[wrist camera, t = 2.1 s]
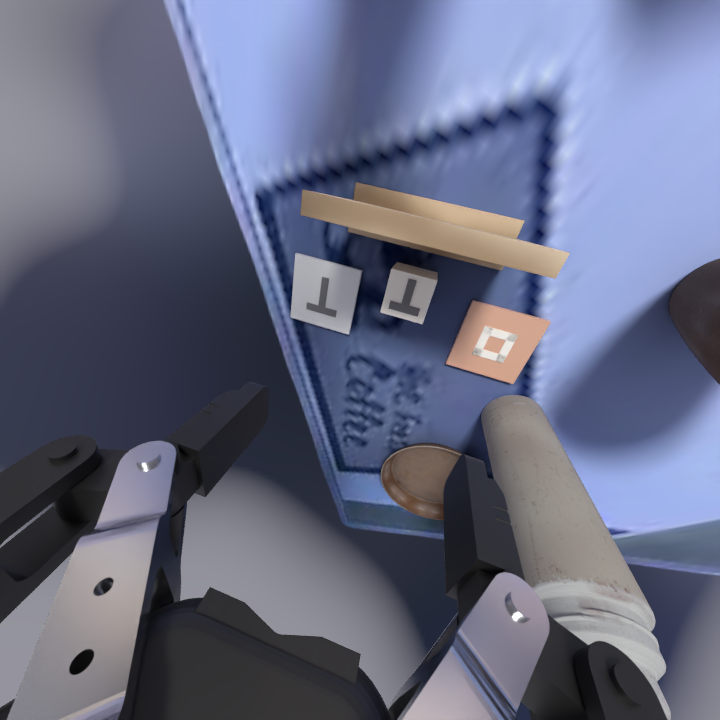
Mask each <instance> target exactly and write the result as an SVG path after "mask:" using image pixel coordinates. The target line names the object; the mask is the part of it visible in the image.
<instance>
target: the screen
mask: <svg viewBox="0 0 720 720" xmlns="http://www.w3.org/2000/svg"><path fill="white" fill-rule="evenodd" d="M300 215H303V216H307V217H311V218H315V219H319V220H323V221H327V222H331V223H335V224H339V225H343V226H347V227H349V228H348V232H351V233H355V234H358V235H362V236H366V237H370V238H374V239H378V240H382V241H386V242H390V243H394V244H398V245H402V246H406V247H410V248H414V249H418V250H422V251H426V252H430V253H434V254H438V255H442V256H446V257H450V258H454V259H457V260H461V261H465V262H469V263H473V264H477V265H481V266H485V267H489V268H493V269H497V270H501V271H502V269H503V267H504V266H507V267H511V268H515V269H519V270H523V271H527V272H531V273H535V274H539V275H543V276H547V277H551V278H556V277H557V275H558V273H559V271H560V270H561V268H562V266H563V264H564V263H565V261H566V259H567V257H568V256H569V254H570V253H568V252H564V251H560V250H557V249H553V248H549V247H545V246H542V245H538V244H534V243H530V242H527V241H523V240H519V239H516V238H517V236H518V234H519V232H520V230H521V228H522V225H523V223H524V220H519V219H515V218H510V217H506V216H502V215H497V214H493V213H489V212H484V211H480V210H475V209H471V208H467V207H462V206H458V205H454V204H449V203H445V202H440V201H436V200H432V199H427V198H423V197H419V196H414V195H410V194H405V193H401V192H397V191H392V190H388V189H384V188H379V187H375V186H371V185H366V184H362V183H357V182H356V185H355V191H354V197H353V200H351V199H346V198H341V197H336V196H332V195H327V194H322V193H317V192H312V191H308V190H303V189H302V201H301V214H300Z"/></svg>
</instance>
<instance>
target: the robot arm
mask: <svg viewBox="0 0 720 720" xmlns="http://www.w3.org/2000/svg"><path fill="white" fill-rule="evenodd" d="M268 395H269V390H268V388H267V387H264V386H262V385H259V384H256V383H253V382H248V383H247V384H245V385H244V386H243V387H242V388H241V389H240V390H238V391H236V390H231V391H228V392H226V393H224V394H221V395H219V396H218V397H217V398H216V399H214V400H213V401H212V402H211V403H210V404H209V405H207V406H206V407H205V408H203V409H202V410H201V412H198V413H197V414H196V415H195V416H193V418H191V419H190V420H189V421H187V422H186V423H185V424H184V425H182V426H181V427H180V428H179V429H177V430H176V431H175V432H174V433H172V434H171V435H170V436H169V437H168V438H166V439H165V440H164V441H152V442H148V443H144V444H141V445H139V446H137V447H135V448H133V449H132V450H130V451H124V450H106V449H99V448H98V446H97V443H96V441H95V440H94V439H93V438H91V437H89V436H83V435H76V436H69V437H64V438H61V439H58V440H55V441H52V442H50V443H48V444H46V445H44V446H43V447H41V448H40V449H38V450H37V451H34V452H33V453H31V454H30V455H28V456H26V457H25V458H23V459H22V460H20V461H18V462H17V463H15V464H13V465H12V466H10V467H9V468H7V469H5V470H4V471H2V472H1V473H0V545H1V544H2V543H3V542H4V541H5V540H6V539H7V538H8V537H9V536H11V535H12V534H13V533H14V532H16V531H17V530H18V529H20V528H21V527H22V526H23V525H25V524H26V523H27V522H28V521H30V520H31V519H32V518H33V517H35V516H36V515H37V514H38V513H40V512H41V511H42V510H43V509H45V508H46V507H47V506H49V505H50V504H51V505H52V507H51V508H50V509H49V510H48V511H46V512H45V513H44V514H42V515H41V516H40V517H39V518H37V519H36V520H35V521H34V522H32V523H31V524H30V525H29V526H27V527H26V528H25V529H24V530H22V531H21V532H20V533H19V534H17V535H16V536H15V537H14V538H12V539H11V540H10V541H9V542H7V543H6V544H5V545H4V546H2V547H1V548H0V623H1V622H2V621H3V620H4V619H5V618H6V617H7V616H8V615H9V614H10V613H11V612H12V611H13V610H14V609H15V608H16V607H17V606H18V605H19V604H20V603H21V602H22V601H23V600H24V599H25V598H26V597H27V596H29V595H30V593H32V592H33V591H34V590H35V588H37V587H38V586H39V585H40V584H41V583H42V582H43V581H44V580H45V579H46V578H47V577H48V576H49V575H50V574H51V573H52V572H53V571H54V570H55V569H56V568H57V567H58V566H59V565H60V564H61V563H62V562H63V561H64V560H65V559H66V558H67V557H68V556H69V555H70V554H71V553H72V552H73V554H72V556H71V559H70V561H69V564H68V566H67V569H66V571H65V574H64V576H63V579H62V582H61V584H60V587H59V590H58V592H57V594H56V597H55V599H54V602H53V604H52V607H51V609H50V612H49V614H48V617H47V619H46V622H45V624H44V627H43V630H42V632H41V635H40V637H39V640H38V642H37V645H36V647H35V650H34V652H33V655H32V657H31V660H30V662H29V665H28V667H27V670H26V672H25V675H24V678H23V680H22V683H21V685H20V688H19V691H18V693H17V695H16V698H15V699H13V700H12V701H10V702H9V703H7V704H6V705H4V706H2V707H1V708H0V720H516V712H517V709H518V706H519V704H520V702H522V703H523V704H524V705H525V706H526V707H528V708H529V711H530V718H531V720H667V717H666V715H665V713H664V710H663V708H662V706H661V703H660V701H659V699H658V697H657V695H656V693H655V691H654V689H653V688H652V686H651V684H650V683H649V681H648V680H647V678H646V677H645V675H644V674H643V673H642V672H641V670H640V669H639V668H638V667H637V666H636V664H635V663H634V662H633V661H632V660H631V659H630V658H629V657H628V656H627V655H626V654H624V653H623V652H622V651H621V650H619V649H618V648H616V647H615V646H613V645H611V644H610V643H607V642H604V641H595V642H593V643H591V644H589V645H588V644H586V643H585V642H584V641H582V640H581V639H579V638H578V637H577V636H575V635H574V634H573V633H571V632H570V631H569V630H567V629H566V628H565V627H563V626H562V625H561V624H559V623H558V622H557V621H555V620H554V619H553V618H552V617H551V616H549V615H548V614H547V612H546V610H545V607H544V605H543V603H542V601H541V600H540V598H539V597H538V595H537V594H536V592H535V591H534V590H533V589H532V588H531V587H530V586H529V585H528V584H527V583H526V581H525V578H524V574H523V570H522V566H521V562H520V558H519V554H518V550H517V546H516V542H515V537H514V533H513V529H512V526H511V525H510V523H511V521H510V517H509V513H507V511H508V509H507V504H506V500H505V496H504V494H503V492H502V491H501V489H500V487H499V486H498V484H497V482H496V481H495V480H493V479H490V478H488V476H487V471H486V466H485V463H484V461H482V460H479V459H476V458H473V457H470V456H467V455H464V454H462V455H461V456H460V457H459V459H458V461H457V462H456V464H455V466H454V467H453V469H452V471H451V473H450V474H449V476H448V478H447V480H446V482H445V486H444V492H443V503H444V547H445V587H446V588H445V591H446V595H447V596H449V597H452V598H454V599H457V600H458V613H457V614H456V615H455V617H454V618H453V620H452V621H451V622H450V624H449V625H448V627H447V628H446V629H445V631H444V632H443V633H442V635H441V636H440V638H439V639H438V640H437V642H436V643H435V645H434V646H433V647H432V649H431V650H430V652H429V653H428V654H427V655H426V657H425V658H424V660H423V661H422V662H421V664H420V665H419V666H418V668H417V669H416V670H415V672H414V673H413V674H412V675H411V676H410V677H409V678H408V680H407V681H406V682H405V683H404V685H403V686H402V687H401V688H400V690H399V691H398V692H397V694H396V695H395V696H394V698H393V699H392V701H391V702H390V703H389V705H388V706H387V707H386V705H385V703H384V701H383V699H382V697H381V695H380V694H379V692H378V690H377V689H376V687H375V685H374V684H373V682H372V681H371V680H370V679H369V677H368V676H367V675H366V674H365V672H364V671H363V670H361V669H360V668H359V667H358V666H359V660H360V654H359V653H357V652H355V651H352V650H350V649H348V648H345V647H343V646H341V645H339V644H336V643H334V642H332V641H330V640H328V639H325V638H323V637H315V636H298V635H281V634H277V633H275V632H274V631H273V630H272V629H271V628H270V627H269V626H268V625H267V624H266V623H265V622H264V621H263V620H262V619H261V618H260V617H259V616H258V615H257V614H256V613H255V612H254V611H253V610H252V609H251V608H250V607H249V606H248V605H247V604H246V603H244V602H242V601H240V600H238V599H235V598H233V597H230V596H229V595H226V594H224V593H222V592H220V591H217V590H215V589H213V588H211V587H210V588H209V590H208V591H207V593H206V595H205V596H204V598H192V599H186V600H182V601H180V594H181V555H182V546H183V536H184V528H185V519H186V510H187V501H188V500H189V499H190V497H191V496H192V495H193V494H194V493H196V494H199V495H201V496H204V497H206V496H207V495H208V493H209V492H210V491H211V490H212V489H213V487H214V486H215V485H216V484H217V483H218V481H219V480H220V479H221V478H222V476H223V475H224V474H225V473H226V472H227V470H228V469H229V468H230V467H231V466H232V464H233V463H234V462H235V461H236V460H237V459H238V457H239V456H240V455H241V454H242V452H243V451H244V450H245V449H246V448H247V446H248V445H249V444H250V443H251V442H252V440H253V439H254V438H255V437H256V436H257V434H258V433H259V432H260V431H261V430H262V428H263V427H264V425H265V423H266V420H267V416H268Z"/></svg>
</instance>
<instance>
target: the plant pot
mask: <svg viewBox="0 0 720 720" xmlns="http://www.w3.org/2000/svg"><path fill="white" fill-rule="evenodd" d="M669 313H670V316H671V318H672V320H673V322H674V324H675V326H676V328H677V330H678V332H679V334H680V335H681V337H682V339H683V340H684V341H685V343H686V344H687V346H688V347H689V349H690V350H691V352H692V353H693V354H694V355H695V357H696V358H697V359H698V361H699V362H700V363H701V364H702V365H703V367H704V368H705V369H706V370H707V371H708V372H709V374H710V375H711V376H712V377H713V378H714V379H715V380H716V381H717V382H718V383H719V384H720V259H717V260H714V261H712V262H709V263H707V264H705V265H703V266H701V267H699V268H697V269H696V270H694V271H693V272H691V273H690V274H689V275H687V276H686V277H685V278H684V279H683V280H682V281H681V282H680V283H679V284H678V285H677V287H676V288H675V289H674V291H673V293H672V295H671V297H670V300H669Z"/></svg>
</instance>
